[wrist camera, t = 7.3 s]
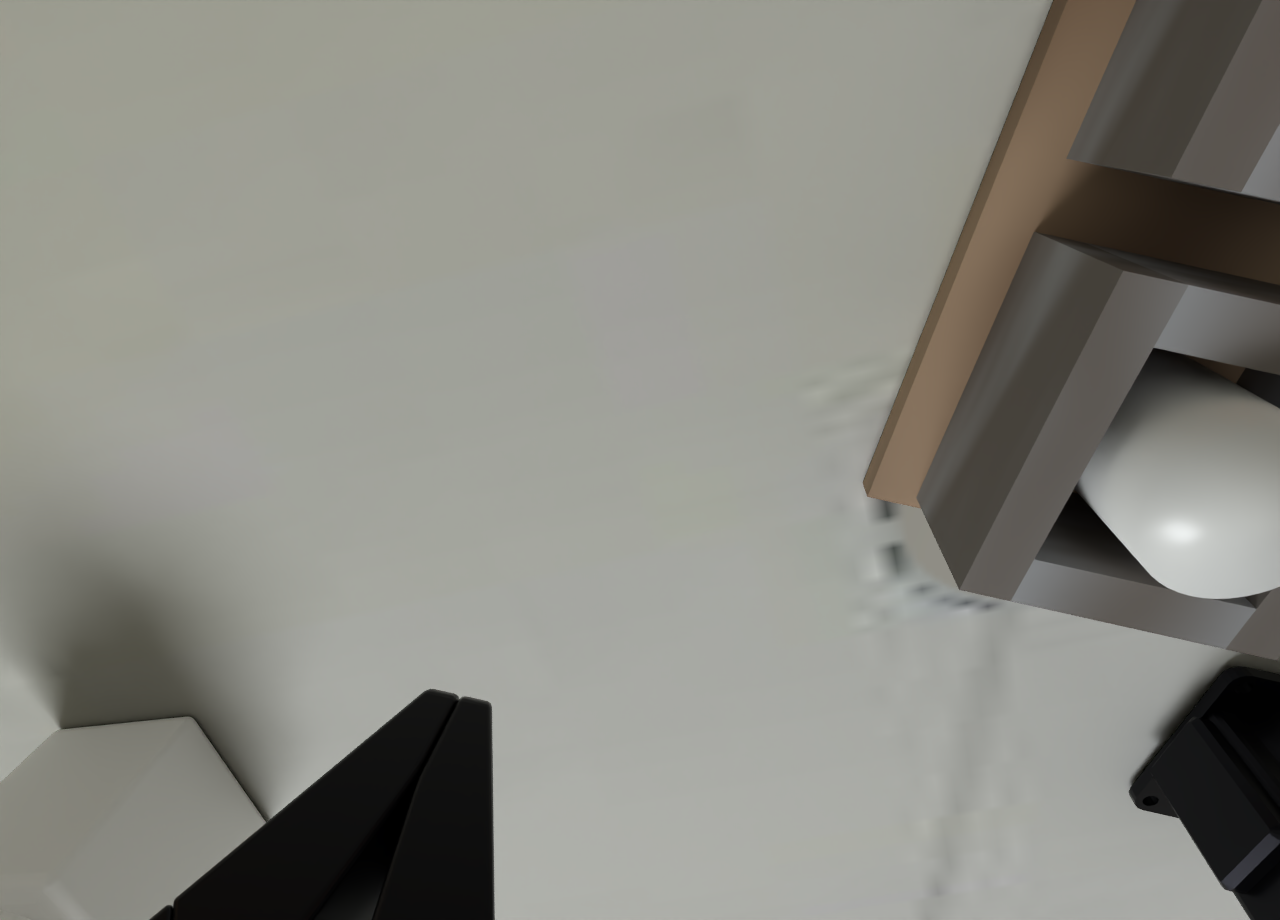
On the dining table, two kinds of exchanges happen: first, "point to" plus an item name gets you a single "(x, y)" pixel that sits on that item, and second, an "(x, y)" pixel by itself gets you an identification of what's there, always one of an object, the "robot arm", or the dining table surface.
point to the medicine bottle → (116, 821)
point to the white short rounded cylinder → (1192, 480)
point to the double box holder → (1098, 302)
